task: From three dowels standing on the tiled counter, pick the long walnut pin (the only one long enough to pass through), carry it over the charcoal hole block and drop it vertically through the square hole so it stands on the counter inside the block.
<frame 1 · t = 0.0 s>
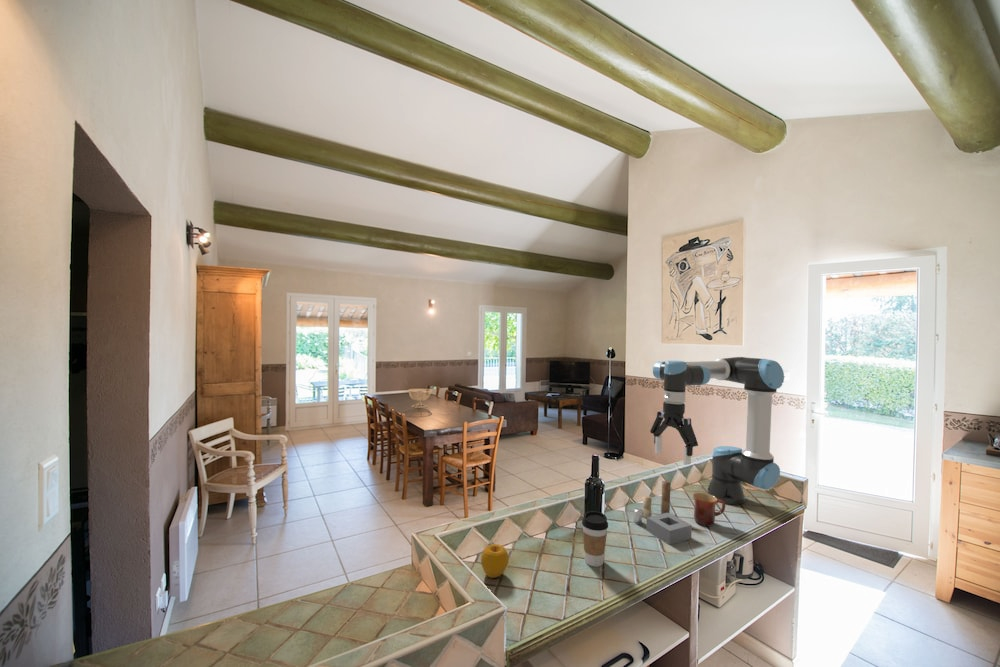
hand: (672, 458, 156), 28 cm above the countertop, fingers open, 13 cm apart
apple: (494, 575, 128), on the countertop
mug: (708, 523, 165), on the countertop
beech pin: (646, 516, 169), on the countertop
steel pin: (637, 522, 164), on the countertop
hole block: (668, 534, 155), on the countertop
coffee cup: (593, 562, 137), on the countertop
walnut pin: (665, 516, 170), on the countertop
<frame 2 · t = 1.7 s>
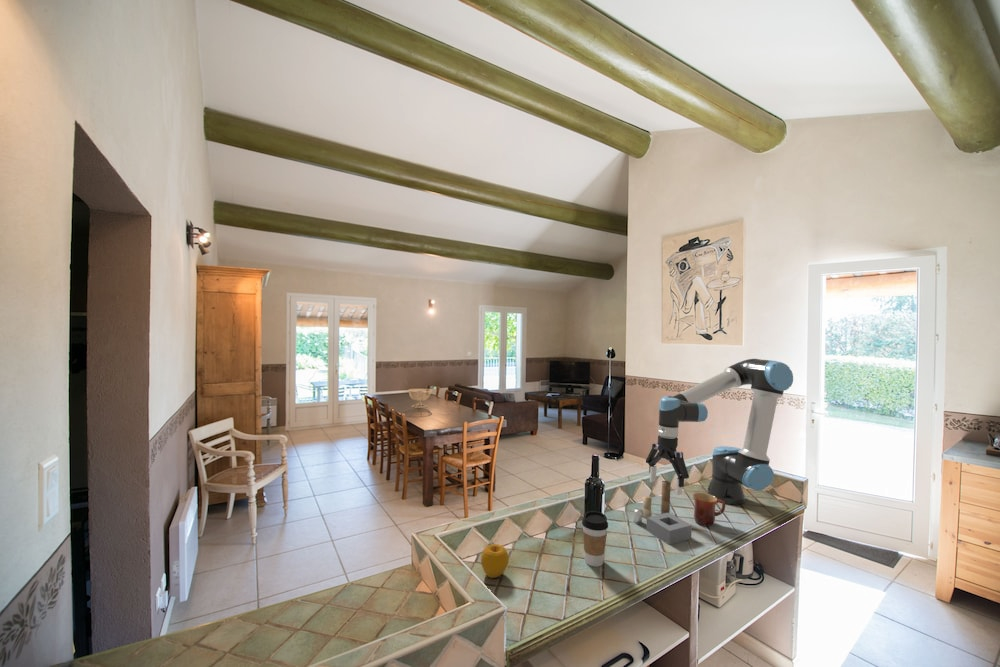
hand: (665, 487, 170), 12 cm above the countertop, fingers open, 13 cm apart
nothing on the countertop moved.
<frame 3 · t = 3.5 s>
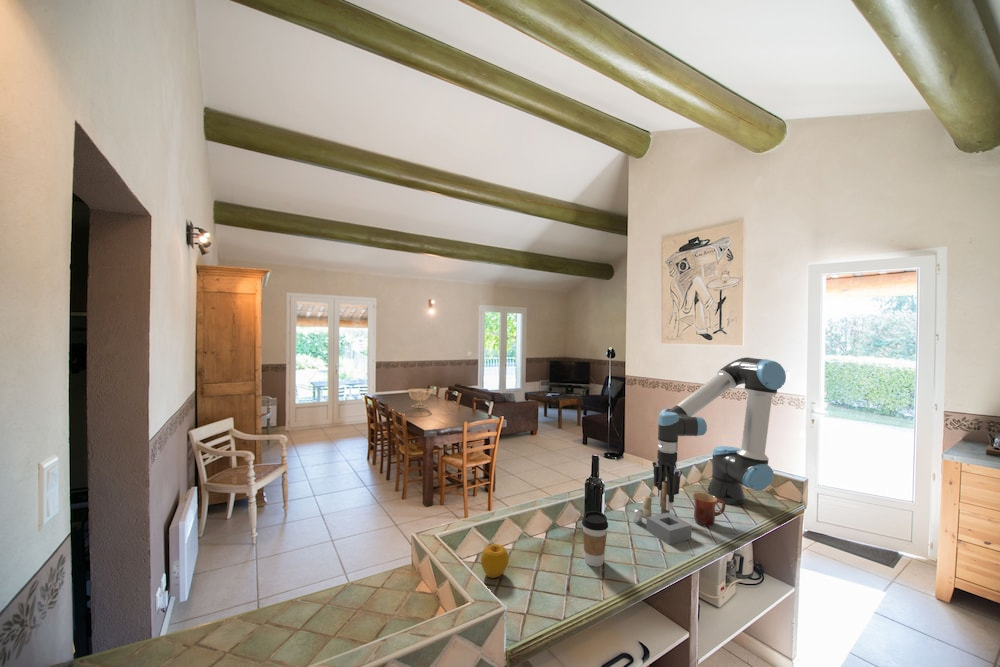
hand: (665, 507, 170), 4 cm above the countertop, fingers closed on walnut pin, 3 cm apart
walnut pin: (665, 516, 170), on the countertop, touching gripper
everything else where it was.
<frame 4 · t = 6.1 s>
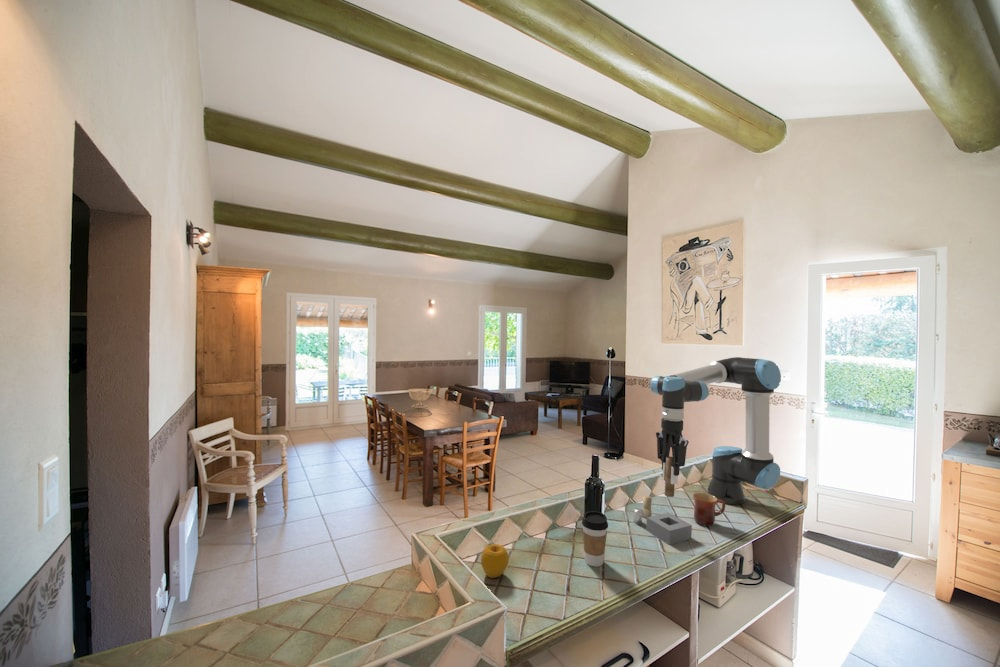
hand: (670, 481, 155), 20 cm above the countertop, fingers closed on walnut pin, 3 cm apart
walnut pin: (669, 495, 155), point 15 cm above the countertop, touching gripper
everything else where it was.
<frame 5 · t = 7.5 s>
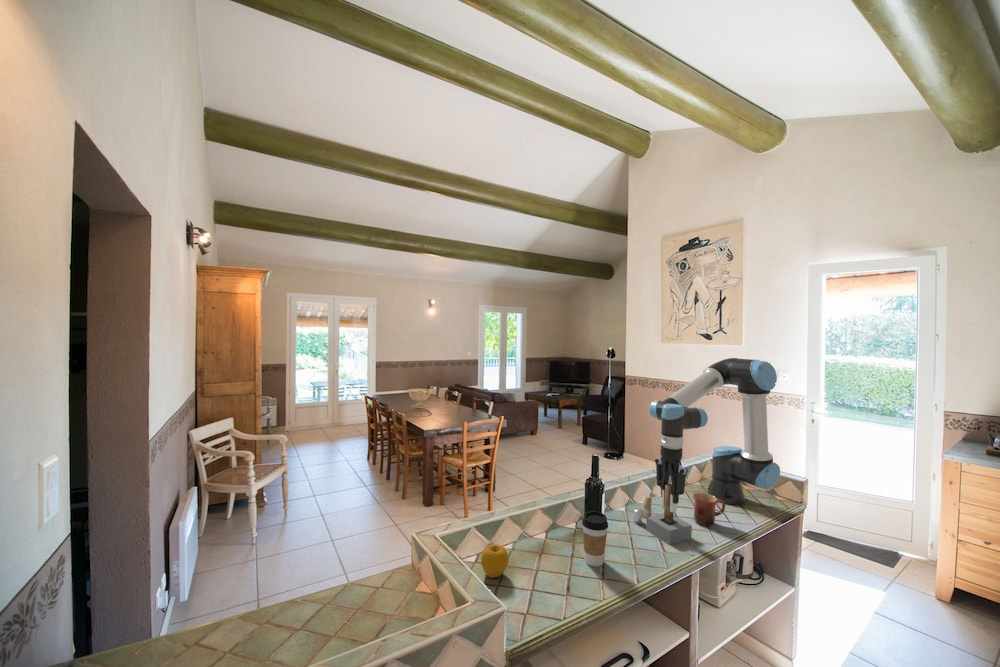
hand: (669, 508, 155), 10 cm above the countertop, fingers closed on walnut pin, 3 cm apart
walnut pin: (668, 522, 155), point 4 cm above the countertop, touching gripper
everything else where it was.
when the fingers open (6 cm above the countertop, at t = 8.7 s): walnut pin stays where it is, resting in hole block.
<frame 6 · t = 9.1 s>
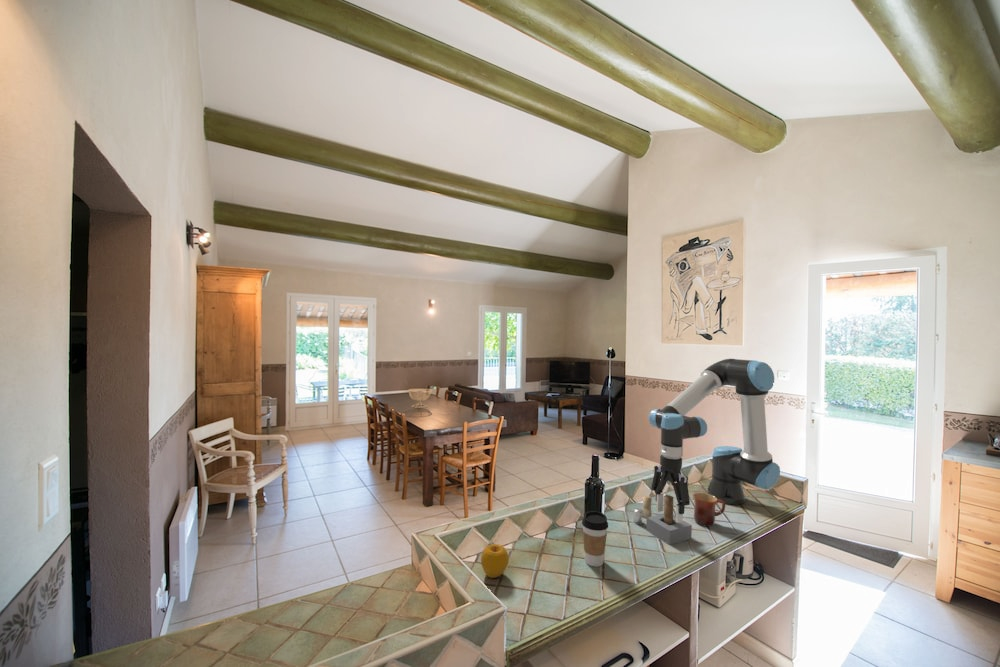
hand: (669, 516, 155), 7 cm above the countertop, fingers open, 8 cm apart
walnut pin: (668, 534, 155), resting in hole block
everything else where it was.
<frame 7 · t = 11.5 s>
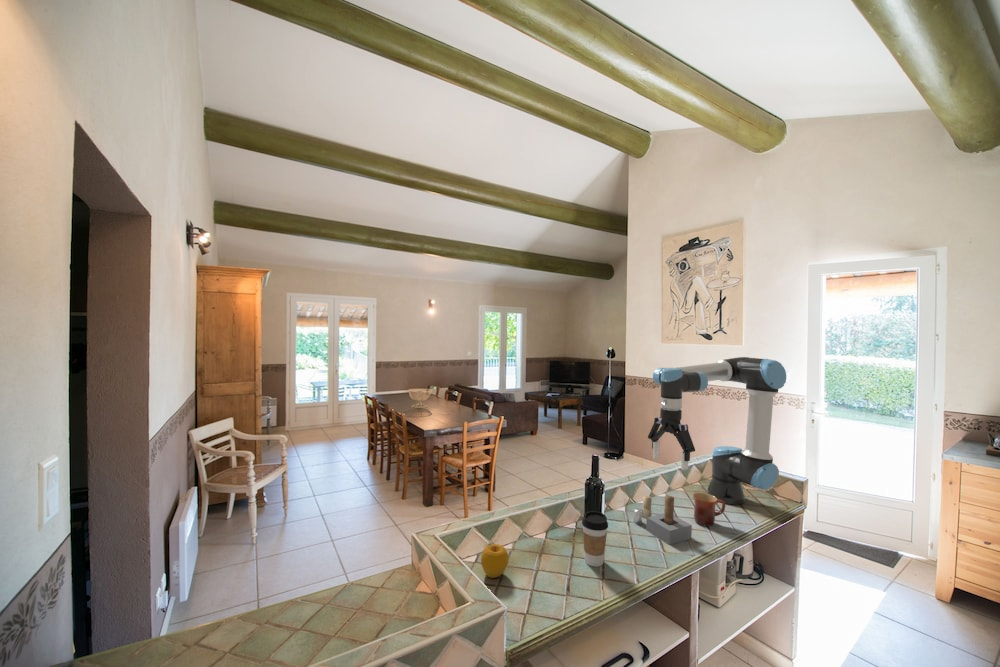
hand: (669, 463, 160), 25 cm above the countertop, fingers open, 13 cm apart
nothing on the countertop moved.
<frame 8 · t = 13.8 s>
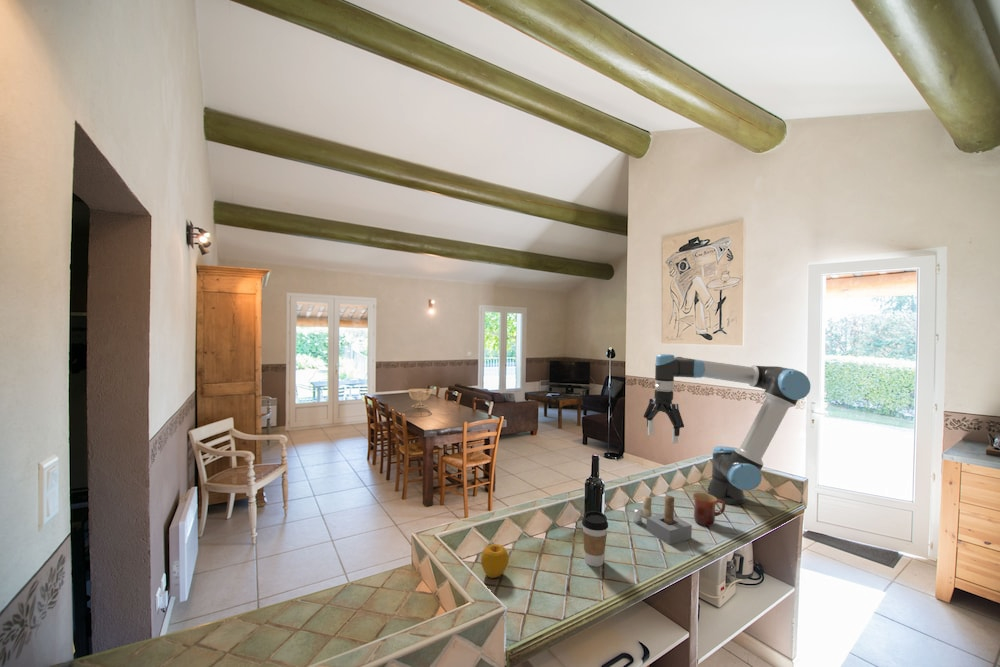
hand: (662, 439, 180), 29 cm above the countertop, fingers open, 13 cm apart
nothing on the countertop moved.
at the end: walnut pin 0.1 cm off-centre on the hole block, point 0.0 cm above the hole block's base; walnut pin tilted 0°; the gripper is holding nothing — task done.
